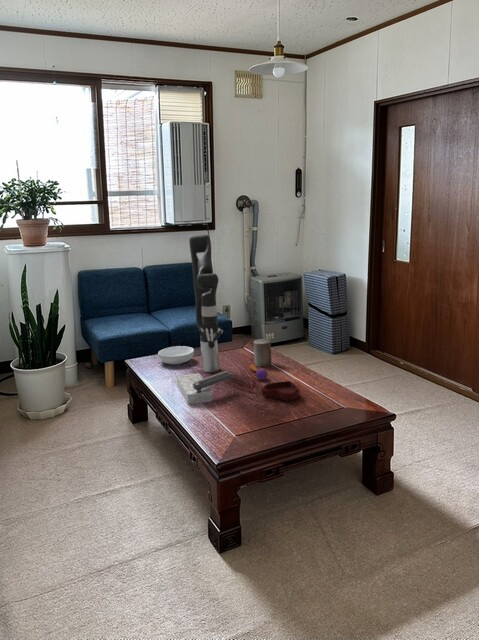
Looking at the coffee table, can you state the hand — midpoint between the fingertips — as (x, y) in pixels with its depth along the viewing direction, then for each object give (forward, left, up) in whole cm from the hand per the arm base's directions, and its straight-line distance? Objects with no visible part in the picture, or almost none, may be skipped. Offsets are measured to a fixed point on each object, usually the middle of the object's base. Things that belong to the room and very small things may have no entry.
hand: (211, 347), depth 277 cm
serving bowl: (+10, -52, -22) cm, 57 cm away
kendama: (-27, -11, -22) cm, 36 cm away
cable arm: (+3, +9, -15) cm, 18 cm away
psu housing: (+11, +1, -22) cm, 24 cm away
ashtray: (-29, +22, -22) cm, 42 cm away
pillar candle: (-35, -27, -22) cm, 50 cm away
